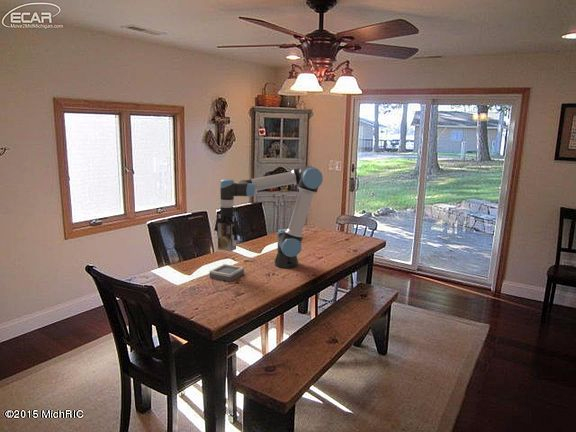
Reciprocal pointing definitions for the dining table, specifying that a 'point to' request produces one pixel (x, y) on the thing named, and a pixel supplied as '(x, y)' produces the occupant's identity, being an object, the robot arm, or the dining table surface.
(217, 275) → the grey square tray
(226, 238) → the coffee box
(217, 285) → the dining table surface
